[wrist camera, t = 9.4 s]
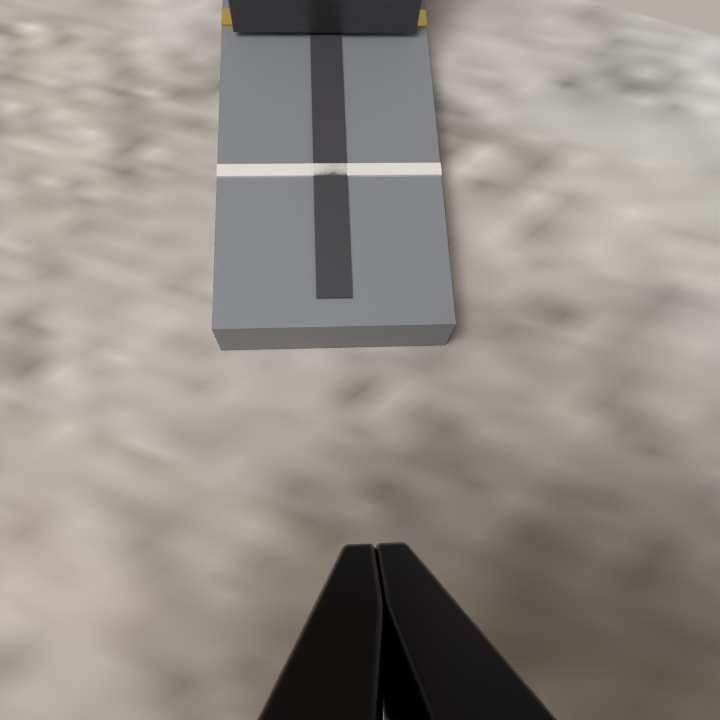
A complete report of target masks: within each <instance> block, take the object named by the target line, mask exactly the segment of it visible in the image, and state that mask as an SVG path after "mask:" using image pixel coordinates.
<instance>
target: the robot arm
mask: <svg viewBox="0 0 720 720" xmlns="http://www.w3.org/2000/svg"><path fill="white" fill-rule="evenodd" d="M383 712H384V720H557V719H556V718H555V717H554V716H553V714H552V713H551V712H550V711H549V710H548V709H547V707H546V706H545V705H544V704H543V703H542V702H541V700H540V699H539V698H538V697H537V696H536V695H535V693H534V692H533V691H532V690H531V689H530V688H529V686H528V685H527V684H526V683H525V682H524V680H523V679H522V678H521V677H520V676H519V675H518V673H517V672H516V671H515V670H514V669H513V668H512V666H511V665H510V664H509V663H508V662H507V661H506V659H505V658H504V657H503V656H502V655H501V654H500V652H499V651H498V650H497V649H496V648H495V646H494V645H493V644H492V643H491V642H490V641H489V639H488V638H487V637H486V636H485V635H484V634H483V632H482V631H481V630H480V629H479V628H478V627H477V625H476V624H475V623H474V622H473V621H472V620H471V618H470V617H469V616H468V615H467V614H466V613H465V611H464V610H463V609H462V608H461V607H460V605H459V604H458V603H457V602H456V601H455V600H454V598H453V597H452V596H451V595H450V594H449V593H448V591H447V590H446V589H445V588H444V587H443V586H442V584H441V583H440V582H439V581H438V580H437V579H436V577H435V576H434V575H433V574H432V573H431V571H430V570H429V569H428V568H427V567H426V566H425V564H424V563H423V562H422V561H421V560H420V559H419V557H418V556H417V555H416V554H415V553H414V552H413V550H412V549H411V548H410V547H409V546H408V545H407V544H406V543H403V542H396V543H379V544H378V545H377V546H376V548H375V547H374V546H373V545H372V544H348V545H345V546H344V547H343V548H342V550H341V552H340V554H339V556H338V558H337V560H336V562H335V564H334V566H333V568H332V570H331V572H330V574H329V576H328V578H327V580H326V582H325V584H324V586H323V588H322V590H321V592H320V594H319V596H318V598H317V600H316V602H315V604H314V606H313V608H312V610H311V612H310V614H309V617H308V619H307V621H306V623H305V625H304V627H303V629H302V631H301V633H300V635H299V637H298V639H297V641H296V643H295V645H294V647H293V649H292V651H291V653H290V655H289V657H288V659H287V661H286V663H285V665H284V667H283V669H282V671H281V673H280V675H279V677H278V679H277V681H276V683H275V685H274V687H273V689H272V691H271V693H270V695H269V697H268V699H267V701H266V703H265V705H264V707H263V709H262V711H261V713H260V715H259V717H258V719H257V720H383Z"/></svg>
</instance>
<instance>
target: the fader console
mask: <svg viewBox="0 0 720 720" xmlns="http://www.w3.org/2000/svg"><path fill="white" fill-rule="evenodd" d="M221 24H222V40H221V70H220V101H219V131H218V161H217V191H216V222H215V252H214V282H213V312H212V330H213V333H214V335H215V337H216V339H217V342H218V344H219V346H220V348H221V350H251V349H294V348H336V347H379V346H422V345H446V343H447V341H448V339H449V337H450V335H451V333H452V331H453V329H454V327H455V325H456V320H455V310H454V300H453V290H452V280H451V269H450V259H449V249H448V239H447V229H446V218H445V208H444V198H443V188H442V178H441V176H442V171H441V163H440V157H439V147H438V137H437V126H436V116H435V106H434V96H433V86H432V75H431V65H430V55H429V45H428V35H427V17H426V10H425V4H424V0H422V1H421V7H420V13H419V19H418V25H417V31H416V33H307V32H233V26H232V20H231V14H230V8H229V2H228V0H223V8H222V23H221Z"/></svg>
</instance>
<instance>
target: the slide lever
mask: <svg viewBox="0 0 720 720" xmlns="http://www.w3.org/2000/svg"><path fill="white" fill-rule="evenodd" d="M421 1H422V0H228V2H229V8H230V14H231V20H232V26H233V32H307V33H416V31H417V25H418V19H419V13H420V7H421Z"/></svg>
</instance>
